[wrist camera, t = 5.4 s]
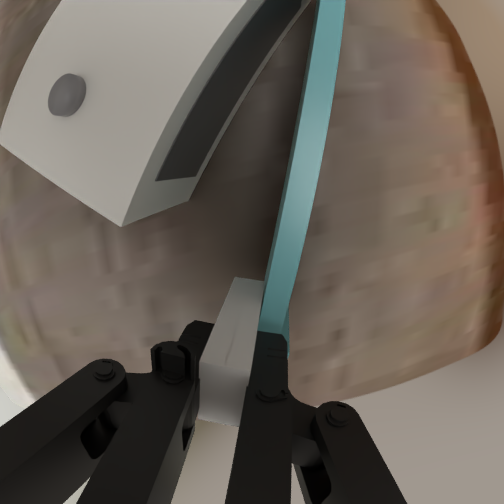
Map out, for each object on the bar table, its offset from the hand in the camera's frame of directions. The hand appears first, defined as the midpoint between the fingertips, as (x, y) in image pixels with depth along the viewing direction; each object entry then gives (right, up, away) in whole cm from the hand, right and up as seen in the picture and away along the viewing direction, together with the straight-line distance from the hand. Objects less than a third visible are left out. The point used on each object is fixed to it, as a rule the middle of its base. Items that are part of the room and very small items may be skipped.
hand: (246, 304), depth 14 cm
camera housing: (-5, +16, +2) cm, 17 cm away
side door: (+4, +9, +3) cm, 11 cm away
